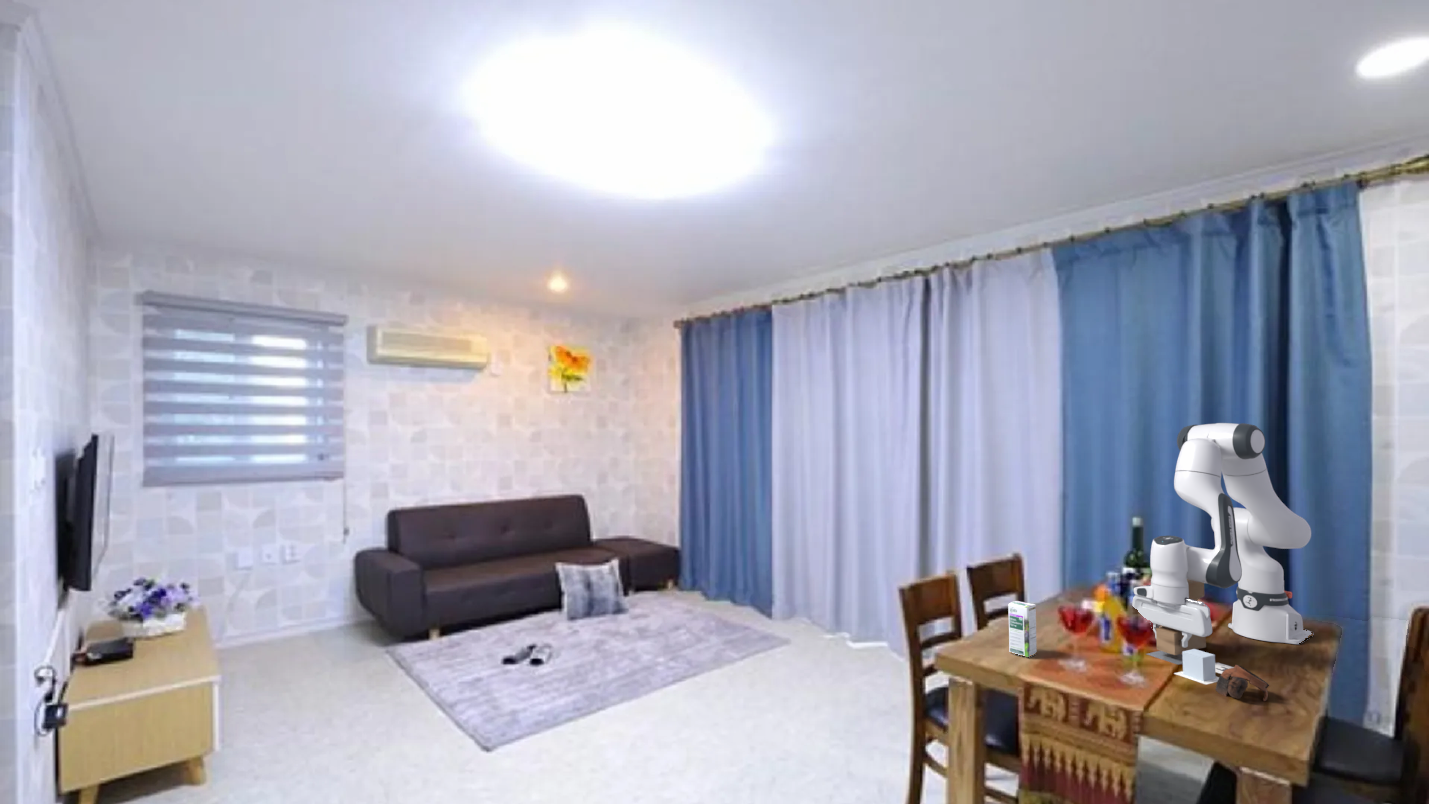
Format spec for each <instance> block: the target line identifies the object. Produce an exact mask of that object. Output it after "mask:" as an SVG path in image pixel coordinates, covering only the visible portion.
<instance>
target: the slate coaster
mask: <svg viewBox="0 0 1429 804" xmlns="http://www.w3.org/2000/svg"><path fill="white" fill-rule="evenodd" d="M1146 655H1147V656H1151V657H1154V658H1155V659H1160V660H1162V661H1165V662H1168V663H1170V664H1171V663H1172V664H1175V665H1177V666H1178V665H1183V655H1182V654H1178V655H1173V654H1170V653H1166V652H1163V651H1160V650H1157V651H1153V652H1150V653H1149V652H1148V653H1146Z"/></svg>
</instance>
